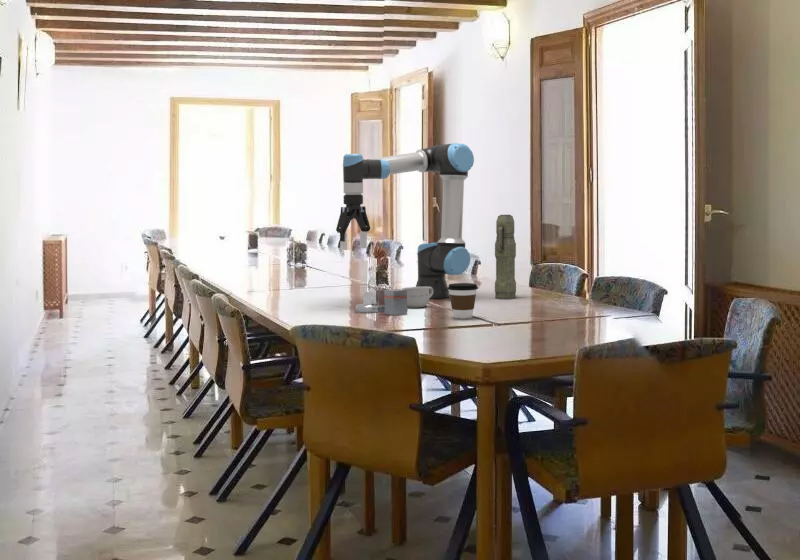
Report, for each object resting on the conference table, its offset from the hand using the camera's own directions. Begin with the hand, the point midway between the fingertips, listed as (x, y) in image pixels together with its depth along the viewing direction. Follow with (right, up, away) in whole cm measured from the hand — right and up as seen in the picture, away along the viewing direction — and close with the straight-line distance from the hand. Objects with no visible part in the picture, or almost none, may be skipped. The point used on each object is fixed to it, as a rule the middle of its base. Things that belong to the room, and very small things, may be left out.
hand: (353, 249), depth 366 cm
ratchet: (+11, -24, -7) cm, 27 cm away
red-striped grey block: (+16, -25, -16) cm, 34 cm away
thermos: (+62, -20, +31) cm, 72 cm away
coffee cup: (+41, -26, -28) cm, 55 cm away
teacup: (+26, -23, +5) cm, 35 cm away
